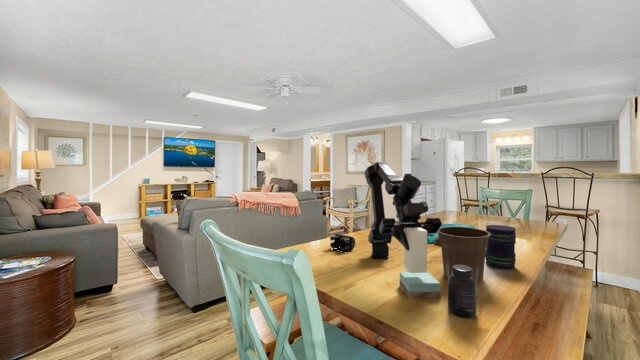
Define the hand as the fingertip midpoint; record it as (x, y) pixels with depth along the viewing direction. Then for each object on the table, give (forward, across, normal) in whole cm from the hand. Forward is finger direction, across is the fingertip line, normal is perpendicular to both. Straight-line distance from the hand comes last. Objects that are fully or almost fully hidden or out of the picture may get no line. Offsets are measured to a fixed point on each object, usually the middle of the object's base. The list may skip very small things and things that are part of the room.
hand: (417, 249), depth 84 cm
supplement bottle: (+18, +7, +1) cm, 19 cm away
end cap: (-24, -16, +44) cm, 53 cm away
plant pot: (+2, +21, +18) cm, 27 cm away
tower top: (+7, +1, +9) cm, 12 cm away
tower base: (+9, +1, +11) cm, 14 cm away
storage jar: (-6, +42, +25) cm, 49 cm away
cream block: (+4, 0, +6) cm, 7 cm away
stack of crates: (-27, +35, +48) cm, 65 cm away
